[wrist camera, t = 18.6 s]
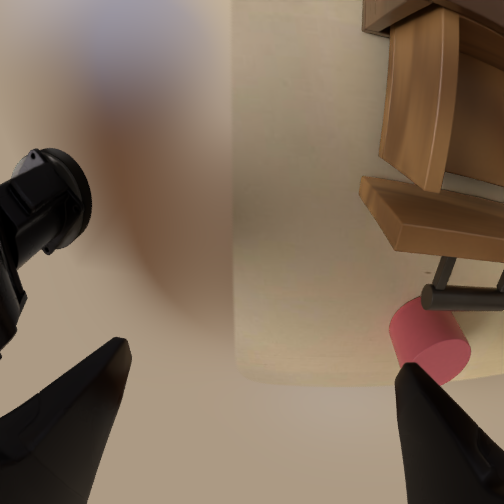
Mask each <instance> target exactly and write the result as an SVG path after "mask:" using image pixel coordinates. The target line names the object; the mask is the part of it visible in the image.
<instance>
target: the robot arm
mask: <svg viewBox="0 0 504 504" xmlns="http://www.w3.org/2000/svg"><path fill="white" fill-rule="evenodd" d="M34 154H35V156H34ZM76 206H78V208H79V210H78V209H77V207H76ZM84 208H85V207H84V204H83V203H82V202H81V200H80V199H79V198H78V197H77V196H76V195H75V193H74V192H73V191H72V190H71V189H70V188H69V186H68V185H67V184H66V183H65V182H64V180H63V179H62V178H61V177H60V175H59V174H58V173H57V172H56V171H55V169H54V168H53V167H52V166H51V164H50V163H49V162H48V161H47V159H46V158H45V157H44V156H43V154H42V153H41V152H40V150H39V149H33V150H31V151H30V152H29V154H28V156H27V157H26V159H25V161H24V163H23V165H22V167H21V168H20V170H19V172H18V174H17V176H15V177H13V178H11V179H10V180H8V181H6V182H4V183H2V184H0V351H1V350H2V349H3V348H4V347H5V346H6V345H7V344H8V343H9V342H10V341H11V340H12V338H13V337H14V336H15V334H16V332H17V327H16V325H17V322H18V319H19V316H20V314H21V312H22V309H23V307H24V305H25V303H26V300H27V295H26V292H25V291H24V290H23V287H22V284H21V281H20V279H19V275H18V272H17V270H18V269H19V268H20V267H21V266H22V265H23V264H25V262H27V261H28V260H29V259H30V258H31V257H32V256H33V255H35V254H36V253H37V252H38V251H39V250H41V249H42V250H43V251H44V253H45V254H47V255H50V254H52V253H53V252H54V250H55V249H56V248H57V246H58V245H59V243H60V242H61V241H62V239H63V238H64V237H65V235H66V234H67V232H68V231H69V230H70V228H71V227H72V226H73V225H74V223H75V222H76V221H77V219H78V218H79V217H80V216H81V214H82V213H83V212H84ZM1 358H2V355H1V353H0V359H1ZM131 362H132V355H131V351H130V348H129V345H128V341H127V340H126V339H125V338H120V337H114V338H112V339H111V340H110V341H108V342H107V343H105V344H104V345H103V346H101V347H100V348H99V349H97V350H96V351H94V352H93V353H92V354H90V355H89V356H88V357H86V358H85V359H83V360H82V361H81V362H80V363H78V364H77V365H76V366H74V367H73V368H71V369H70V370H69V371H67V372H66V373H64V374H63V375H62V376H60V377H59V378H58V379H56V380H55V381H54V382H52V383H51V384H49V385H48V386H47V387H45V388H44V389H43V390H42V391H40V393H37V394H36V395H34V396H33V397H32V398H30V399H29V400H28V401H26V402H25V403H23V404H22V405H20V406H19V407H17V408H16V409H14V410H13V411H11V412H9V413H8V414H6V415H4V416H2V417H1V418H0V504H87V500H88V498H89V495H90V491H91V488H92V485H93V482H94V479H95V475H96V472H97V469H98V466H99V463H100V460H101V457H102V454H103V451H104V448H105V445H106V443H107V440H108V437H109V434H110V431H111V428H112V426H113V423H114V420H115V417H116V415H117V412H118V409H119V407H120V404H121V400H122V397H123V393H124V389H125V385H126V381H127V377H128V373H129V370H130V366H131ZM395 394H396V408H397V421H398V429H399V436H400V442H401V449H402V456H403V464H404V471H405V480H406V490H407V500H408V504H504V451H503V450H502V449H501V448H500V447H499V446H498V445H497V444H496V443H495V442H494V441H493V440H492V439H491V438H490V437H489V436H488V435H487V434H486V433H485V432H484V431H483V430H482V429H481V428H480V427H478V425H477V424H476V423H475V422H474V421H473V420H472V419H471V418H470V416H468V414H467V413H466V412H465V411H464V410H463V409H462V408H461V407H460V406H459V405H458V404H457V403H456V402H455V401H454V400H453V399H452V398H451V397H450V396H449V395H448V394H447V393H446V392H445V391H444V390H443V389H442V388H441V387H440V386H439V384H438V383H437V382H436V381H435V380H434V379H433V378H432V377H431V376H430V375H429V374H428V373H427V372H426V371H425V370H424V369H423V368H422V367H421V366H420V365H419V364H417V363H416V362H406V363H404V364H403V366H402V368H401V370H400V371H399V373H398V375H397V377H396V379H395Z"/></svg>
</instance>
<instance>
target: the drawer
mask: <svg viewBox="0 0 504 504" xmlns="http://www.w3.org/2000/svg"><path fill="white" fill-rule="evenodd" d="M379 157H381V158H382V159H383V160H385V161H386V162H388V163H389V164H390V165H392V166H393V167H394V168H396V169H397V170H398V171H400V172H401V173H402V174H404V175H405V176H406V177H407V178H409V179H410V180H411V181H412V182H414V183H415V184H410V183H404V182H398V181H392V180H386V179H380V178H373V177H366V176H362V177H361V184H360V190H359V196H360V198H361V199H362V201H363V202H364V204H365V205H366V207H367V208H368V209H369V211H370V213H371V214H372V216H373V217H374V219H375V220H376V222H377V223H378V225H379V226H380V228H381V230H382V231H383V233H384V234H385V236H386V237H387V239H388V241H389V242H390V244H391V246H392V247H393V249H394V250H395V251H401V252H410V253H420V254H429V255H439V256H442V257H441V260H440V263H439V266H438V268H437V271H436V274H435V277H434V279H433V282H432V284H426V285H425V286H424V288H423V290H422V293H421V305H422V307H423V309H424V310H430V311H503V310H504V270H503V272H502V275H501V277H500V279H499V282H498V284H497V286H496V287H497V288H487V287H469V286H453V285H447V282H448V280H449V277H450V275H451V272H452V269H453V267H454V264H455V261H456V258H466V259H475V260H484V261H492V262H501V263H504V204H503V203H499V202H495V201H491V200H487V199H482V198H478V197H474V196H470V195H465V194H461V193H456V192H451V191H446V190H442V189H441V186H442V182H443V177H444V172H449V173H453V174H457V175H461V176H465V177H469V178H473V179H477V180H481V181H484V182H488V183H492V184H495V185H499V186H502V187H504V34H502V33H500V32H498V31H496V30H494V29H492V28H490V27H489V26H487V25H485V24H483V23H481V22H478V21H476V20H474V19H472V18H470V17H468V16H465V15H463V14H461V13H459V12H456V11H454V10H451V9H449V8H447V7H444V6H441V5H439V4H436V3H432V4H430V5H428V6H426V7H424V8H422V9H420V10H418V11H416V12H414V13H412V14H410V15H408V16H406V17H405V18H403V19H401V20H399V21H397V22H395V23H394V24H392V25H390V48H389V64H388V78H387V89H386V100H385V109H384V118H383V126H382V134H381V141H380V148H379Z"/></svg>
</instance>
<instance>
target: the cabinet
mask: <svg viewBox="0 0 504 504" xmlns="http://www.w3.org/2000/svg"><path fill="white" fill-rule="evenodd" d="M432 3H436V4H439V5H441V6H444V7H447V8H449V9H451V10H454V11H456V12H459V13H461V14H463V15H465V16H468V17H470V18H472V19H474V20H476V21H478V22H481V23H483V24H485V25H487V26H489V27H490V28H492V29H494V30H496V31H498V32H500V33H502V34H504V0H363V10H362V31H363V32H366V33H371V34H376V35H380V36H384V37H388V38H390V25H392V24H394V23H395V22H397V21H399V20H401V19H403V18H405V17H406V16H408V15H410V14H412V13H414V12H416V11H418V10H420V9H422V8H424V7H426V6H428V5H430V4H432Z"/></svg>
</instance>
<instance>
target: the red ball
mask: <svg viewBox="0 0 504 504" xmlns="http://www.w3.org/2000/svg"><path fill="white" fill-rule="evenodd" d="M389 334H390V337H391V340H392V343H393V346H394V349H395V352H396V355H397V359H398V362H399V365H400V368H402V366H403V364H404V363H406V362H416V363H417V364H419V365H420V366H421V367H422V368H423V369H424V370H425V371H426V372H427V373H428V374H429V375H430V376H431V377H432V378H433V379H434V380H435V381H436V382H437V383H438V384H439V386H441V385H443V384H445V383H447V382H448V381H450V380H451V379H453V378H454V377H455V376H457V375H458V374H459V373H460V372H461V371H462V370H463V368H464V367H465V366H466V364H467V363H468V361H469V358H470V355H471V348H470V345H469V343H468V341H467V339H466V337H465V336H464V334H463V332H462V330H461V328H460V327H459V325H458V323H457V321H456V319H455V318H454V316H453V314H452V312H451V311H430V310H424V309H423V307H422V305H421V297H418V298H415V299H413V300H411V301H409V302H408V303H406V304H405V305H403V306H402V307H401V308H400V309H399V310H398V311H397V312H396V313H395V315H394V316H393V318H392V320H391V323H390V327H389Z"/></svg>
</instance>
